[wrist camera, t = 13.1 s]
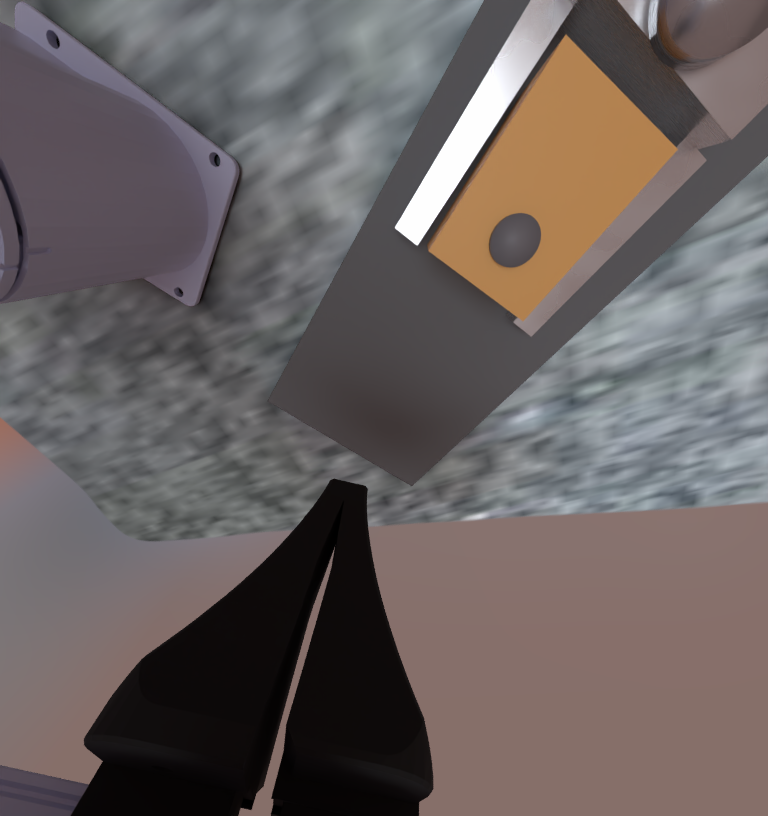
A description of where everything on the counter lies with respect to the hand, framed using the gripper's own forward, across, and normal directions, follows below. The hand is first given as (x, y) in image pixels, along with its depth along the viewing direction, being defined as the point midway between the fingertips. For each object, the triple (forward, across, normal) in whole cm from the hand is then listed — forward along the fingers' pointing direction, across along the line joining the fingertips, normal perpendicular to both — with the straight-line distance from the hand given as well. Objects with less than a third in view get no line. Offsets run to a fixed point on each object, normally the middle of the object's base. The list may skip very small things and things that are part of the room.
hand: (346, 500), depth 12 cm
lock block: (+9, -4, -10) cm, 14 cm away
